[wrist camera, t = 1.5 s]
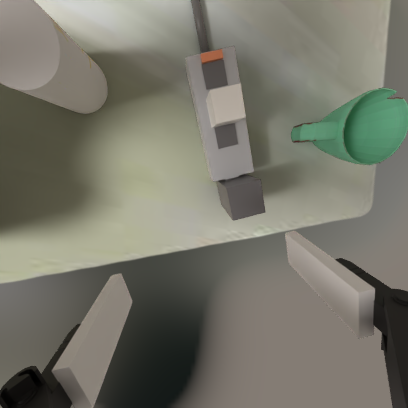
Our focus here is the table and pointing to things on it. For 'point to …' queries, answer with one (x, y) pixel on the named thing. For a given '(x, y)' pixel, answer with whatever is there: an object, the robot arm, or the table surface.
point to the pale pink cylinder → (47, 60)
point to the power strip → (200, 86)
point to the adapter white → (225, 105)
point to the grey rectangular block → (241, 196)
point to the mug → (360, 128)
